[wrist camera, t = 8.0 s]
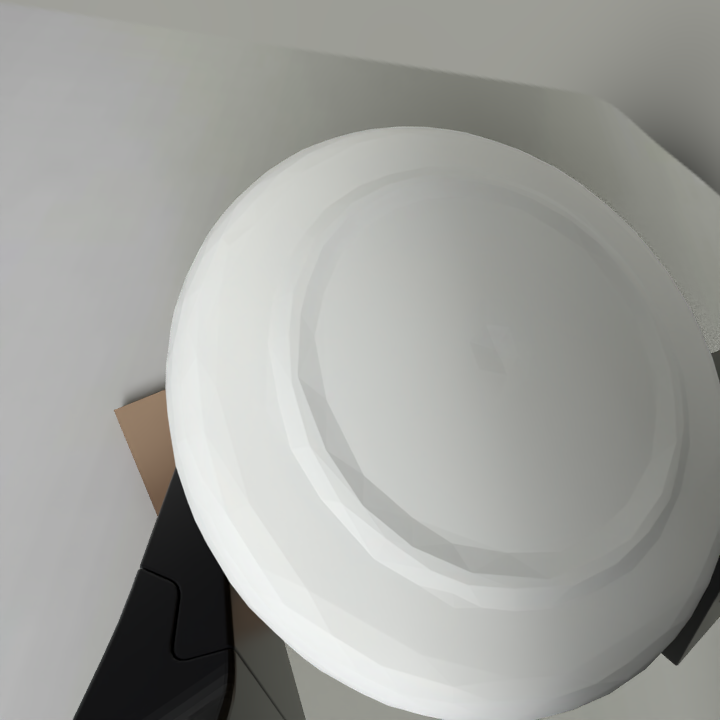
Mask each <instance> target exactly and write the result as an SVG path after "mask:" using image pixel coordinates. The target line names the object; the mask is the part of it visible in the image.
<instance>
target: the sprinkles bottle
mask: <svg viewBox="0 0 720 720" xmlns="http://www.w3.org/2000/svg"><path fill="white" fill-rule="evenodd" d="M165 388H166V401H167V413H168V421H169V427H170V434H171V440H172V446H173V452H174V458H175V465H176V468H177V471H178V474H179V477H180V480H181V483H182V486H183V489H184V492H185V495H186V498H187V501H188V504H189V506H190V509H191V511H192V514H193V517H194V519H195V521H196V523H197V525H198V527H199V529H200V531H201V533H202V535H203V537H204V539H205V541H206V543H207V545H208V547H209V548H210V550H211V552H212V553H213V555H214V557H215V558H216V560H217V562H218V563H219V565H220V567H221V568H222V570H223V572H224V573H225V575H226V577H227V578H228V580H229V582H230V583H231V584H232V586H233V587H234V588H235V590H236V591H237V592H238V594H239V595H240V596H241V598H242V599H243V600H244V601H245V603H246V604H247V605H248V607H249V608H250V609H251V610H252V611H253V612H254V613H255V614H256V615H257V616H258V617H259V618H260V619H262V620H263V621H264V622H265V623H266V624H267V625H268V626H269V627H270V628H271V629H272V630H273V631H274V632H275V633H276V634H277V635H278V636H279V637H280V638H281V639H282V640H284V641H285V642H286V643H287V644H288V645H289V646H290V647H291V648H293V649H294V650H295V651H296V652H297V653H298V654H299V655H301V656H302V657H303V658H304V659H305V660H307V661H308V662H310V663H311V664H312V665H314V666H315V667H316V668H318V669H319V670H320V671H322V672H324V673H326V674H327V675H329V676H331V677H333V678H334V679H336V680H338V681H340V682H341V683H343V684H345V685H347V686H348V687H350V688H352V689H354V690H356V691H358V692H360V693H362V694H364V695H366V696H368V697H371V698H373V699H375V700H377V701H379V702H381V703H383V704H386V705H388V706H392V707H395V708H399V709H402V710H406V711H409V712H413V713H417V714H420V715H424V716H429V717H434V718H439V719H443V720H535V719H541V718H545V717H549V716H552V715H556V714H559V713H563V712H566V711H570V710H574V709H576V708H578V707H580V706H583V705H585V704H587V703H590V702H592V701H594V700H596V699H599V698H601V697H603V696H605V695H608V694H610V693H611V692H613V691H614V690H616V689H617V688H619V687H620V686H621V685H623V684H624V683H626V682H627V681H629V680H630V679H632V678H633V677H635V676H636V675H638V674H639V673H641V672H642V671H643V670H645V669H646V668H647V667H648V666H649V665H650V664H651V663H652V662H653V661H654V660H655V659H656V658H657V657H658V656H659V654H660V653H661V652H662V651H663V650H664V649H665V648H666V647H667V646H668V645H669V644H670V643H671V642H672V641H673V640H674V639H675V638H676V636H677V635H678V634H679V632H680V631H681V630H682V628H683V627H684V626H685V624H686V623H687V622H688V620H689V619H690V618H691V616H692V614H693V612H694V610H695V609H696V607H697V605H698V603H699V601H700V599H701V598H702V596H703V594H704V592H705V590H706V588H707V587H708V585H709V583H710V580H711V577H712V574H713V572H714V569H715V566H716V563H717V561H718V558H719V555H720V382H719V378H718V375H717V371H716V368H715V365H714V361H713V358H712V355H711V353H710V350H709V348H708V346H707V343H706V341H705V339H704V336H703V334H702V332H701V330H700V327H699V325H698V323H697V320H696V318H695V316H694V314H693V312H692V310H691V308H690V306H689V305H688V303H687V301H686V300H685V298H684V296H683V295H682V293H681V292H680V290H679V288H678V287H677V285H676V283H675V282H674V280H673V279H672V277H671V275H670V274H669V272H668V271H667V270H666V268H665V267H664V266H663V265H662V263H661V262H660V261H659V259H658V258H657V257H656V256H655V254H654V253H653V252H652V250H651V249H650V248H649V246H648V245H647V244H646V243H645V242H644V241H643V240H642V239H641V237H640V236H639V235H638V234H637V233H636V232H635V231H634V230H633V229H632V227H630V226H629V225H628V224H627V223H626V222H625V221H624V220H623V219H622V218H621V217H620V216H619V215H618V214H617V213H616V212H615V211H614V210H613V209H612V208H611V207H609V206H608V205H607V204H606V203H604V202H603V201H602V200H601V199H599V198H598V197H597V196H596V195H594V194H593V193H592V192H590V191H589V190H588V189H587V188H585V187H584V186H583V185H582V184H580V183H579V182H577V181H576V180H574V179H573V178H571V177H570V176H568V175H567V174H565V173H564V172H562V171H561V170H559V169H557V168H556V167H554V166H552V165H550V164H548V163H546V162H544V161H542V160H540V159H538V158H536V157H534V156H532V155H530V154H528V153H526V152H524V151H522V150H519V149H516V148H514V147H511V146H508V145H505V144H502V143H499V142H496V141H493V140H490V139H487V138H484V137H480V136H477V135H473V134H470V133H467V132H461V131H455V130H448V129H440V128H432V127H404V126H400V127H388V128H376V129H369V130H364V131H359V132H354V133H350V134H346V135H343V136H339V137H336V138H332V139H329V140H326V141H324V142H321V143H318V144H315V145H313V146H310V147H307V148H305V149H303V150H301V151H299V152H297V153H296V154H294V155H292V156H290V157H288V158H287V159H285V160H283V161H282V162H280V163H279V164H277V165H276V166H274V167H273V168H271V169H270V170H268V171H267V172H265V173H264V174H263V175H262V176H261V177H260V178H258V179H257V180H256V181H255V182H254V183H253V184H251V185H250V186H249V187H248V188H247V189H246V190H245V191H244V192H243V193H242V194H241V195H240V196H239V197H237V198H236V199H235V201H234V202H233V203H232V204H231V205H230V206H229V207H228V208H227V210H226V211H225V212H224V213H223V214H222V215H221V217H220V218H219V219H218V221H217V222H216V223H215V225H214V226H213V227H212V229H211V230H210V232H209V233H208V235H207V237H206V239H205V240H204V242H203V244H202V246H201V247H200V249H199V251H198V253H197V255H196V257H195V259H194V261H193V263H192V265H191V268H190V270H189V272H188V274H187V276H186V278H185V281H184V284H183V287H182V289H181V292H180V295H179V298H178V301H177V304H176V307H175V310H174V314H173V320H172V325H171V332H170V340H169V348H168V355H167V361H166V386H165Z"/></svg>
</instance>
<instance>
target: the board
mask: <svg viewBox="0 0 720 720" xmlns="http://www.w3.org/2000/svg"><path fill="white" fill-rule="evenodd" d="M114 412H115V414H116V417H117V419H118V421H119V424H120V426H121V429H122V431H123V433H124V436H125V438H126V441H127V443H128V446H129V448H130V450H131V453H132V455H133V458H134V460H135V463H136V465H137V467H138V470H139V472H140V475H141V477H142V479H143V482H144V484H145V487H146V489H147V492H148V494H149V496H150V499H151V501H152V504H153V506H154V509H155V511H156V513H157V516H158V514H159V512H160V509H161V506H162V503H163V500H164V498H165V495H166V492H167V489H168V487H169V484H170V481H171V478H172V476H173V473H174V470H175V467H176V465H175V458H174V452H173V446H172V440H171V434H170V427H169V421H168V413H167V401H166V389H165V390H163V391H160V392H158V393H155V394H153V395H150V396H148V397H145V398H143V399H140V400H138V401H135V402H133V403H131V404H128V405H126V406H123V407H121V408H118V409H116V410H114Z"/></svg>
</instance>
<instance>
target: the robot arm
mask: <svg viewBox="0 0 720 720" xmlns="http://www.w3.org/2000/svg"><path fill="white" fill-rule="evenodd" d="M711 355H712V358H713V361H714V365H715V368H716V371H717V375H718V378H719V382H720V350H719V351H717V352H714V353H711ZM140 568H141V569H139V570H138V572H137V575H136V577H135V580H134V583H133V586H132V589H131V591H130V594H129V596H128V599H127V601H126V604H125V606H124V609H123V612H122V614H121V617H120V619H119V622H118V624H117V626H116V628H115V631H114V633H113V635H112V637H111V639H110V642H109V644H108V646H107V648H106V651H105V653H104V655H103V657H102V659H101V662H100V664H99V666H98V668H97V670H96V672H95V674H94V676H93V678H92V680H91V683H90V685H89V687H88V689H87V691H86V693H85V695H84V697H83V699H82V701H81V703H80V706H79V708H78V710H77V712H76V714H75V716H74V718H73V720H306V719H305V716H304V712H303V708H302V705H301V701H300V698H299V694H298V690H297V687H296V683H295V680H294V676H293V672H292V669H291V665H290V662H289V658H288V654H287V651H286V647H285V643H284V640H282V639H281V638H280V637H279V636H278V635H277V634H276V633H275V632H274V631H273V630H272V629H271V628H270V627H269V626H268V625H267V624H266V623H265V622H264V621H263V620H262V619H260V618H259V617H258V616H257V615H256V614H255V613H254V612H253V611H252V610H251V609H250V608H249V607H248V605H247V604H246V603H245V601H244V600H243V599H242V598H241V596H240V595H239V594H238V592H237V591H236V590H235V588H234V587H233V586H232V584H231V583H230V582H229V580H228V578H227V577H226V575H225V573H224V572H223V570H222V568H221V567H220V565H219V563H218V562H217V560H216V558H215V557H214V555H213V553H212V552H211V550H210V548H209V547H208V545H207V543H206V541H205V539H204V537H203V535H202V533H201V531H200V529H199V527H198V525H197V523H196V521H195V519H194V517H193V514H192V511H191V509H190V506H189V504H188V501H187V498H186V495H185V492H184V489H183V486H182V483H181V480H180V477H179V474H178V471H177V468H176V467H175V470H174V473H173V476H172V478H171V481H170V484H169V487H168V489H167V492H166V495H165V498H164V500H163V503H162V506H161V509H160V512H159V514H158V517H157V520H156V523H155V525H154V528H153V531H152V534H151V537H150V539H149V542H148V545H147V548H146V550H145V553H144V556H143V559H142V561H141V564H140ZM719 617H720V555H719V558H718V561H717V563H716V566H715V569H714V572H713V574H712V577H711V580H710V583H709V585H708V587H707V588H706V590H705V592H704V594H703V596H702V598H701V599H700V601H699V603H698V605H697V607H696V609H695V610H694V612H693V614H692V616H691V618H690V619H689V620H688V622H687V623H686V624H685V626H684V627H683V628H682V630H681V631H680V632H679V634H678V635H677V636H676V638H675V639H674V640H673V641H672V642H671V643H670V644H669V645H668V646H667V647H666V648H665V649H664V650H663V651H662V652H661V653H662V654H663V655H664V656H665V657H666V658H667V659H669V660H670V661H671V662H672V663H673V664H675V665H678V664H679V663H680V662H681V661H682V660H683V659H684V657H685V656H686V655H687V654H688V653H689V652H690V650H691V649H692V648H693V647H694V646H695V645H696V643H697V642H698V641H699V640H700V639H701V638H702V637H703V635H704V634H705V633H706V632H707V631H708V630H709V628H710V627H711V626H712V625H713V624H714V623H715V621H716V620H717V619H718V618H719Z"/></svg>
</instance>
